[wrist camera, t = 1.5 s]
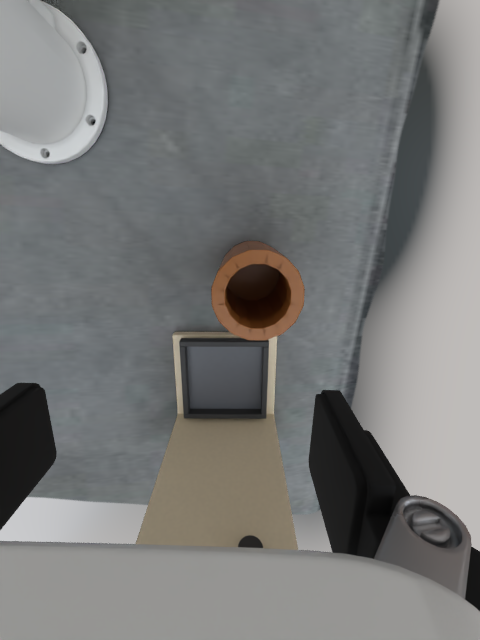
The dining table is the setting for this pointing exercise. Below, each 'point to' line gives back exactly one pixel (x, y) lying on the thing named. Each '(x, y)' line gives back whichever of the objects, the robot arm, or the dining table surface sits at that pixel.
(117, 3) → the dining table surface
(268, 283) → the brown hollow cylinder
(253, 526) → the coffee maker
